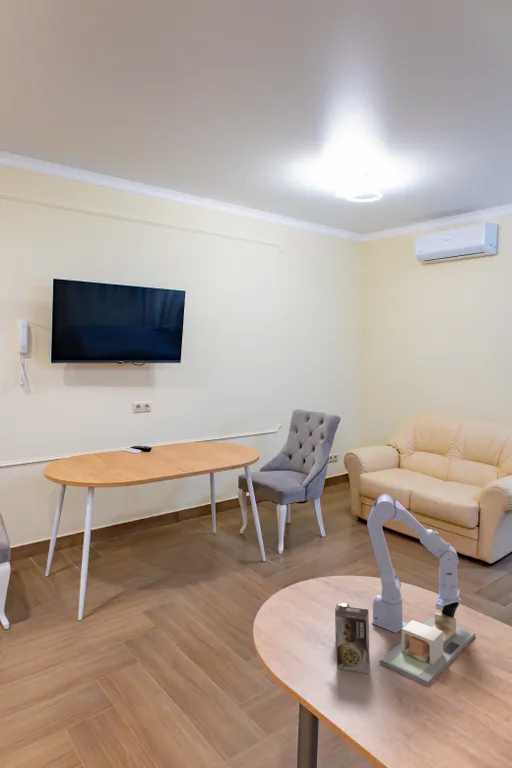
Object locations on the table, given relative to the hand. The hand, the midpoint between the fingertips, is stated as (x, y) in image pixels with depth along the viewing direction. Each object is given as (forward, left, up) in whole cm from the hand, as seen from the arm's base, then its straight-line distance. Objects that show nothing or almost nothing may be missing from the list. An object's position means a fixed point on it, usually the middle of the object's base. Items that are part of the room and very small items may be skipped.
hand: (448, 623), depth 164 cm
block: (0, -21, 0) cm, 21 cm away
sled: (0, -13, -1) cm, 13 cm away
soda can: (-22, -29, -3) cm, 36 cm away
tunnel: (0, -19, -2) cm, 19 cm away
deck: (0, -14, -3) cm, 14 cm away
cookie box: (-13, -37, -3) cm, 39 cm away
